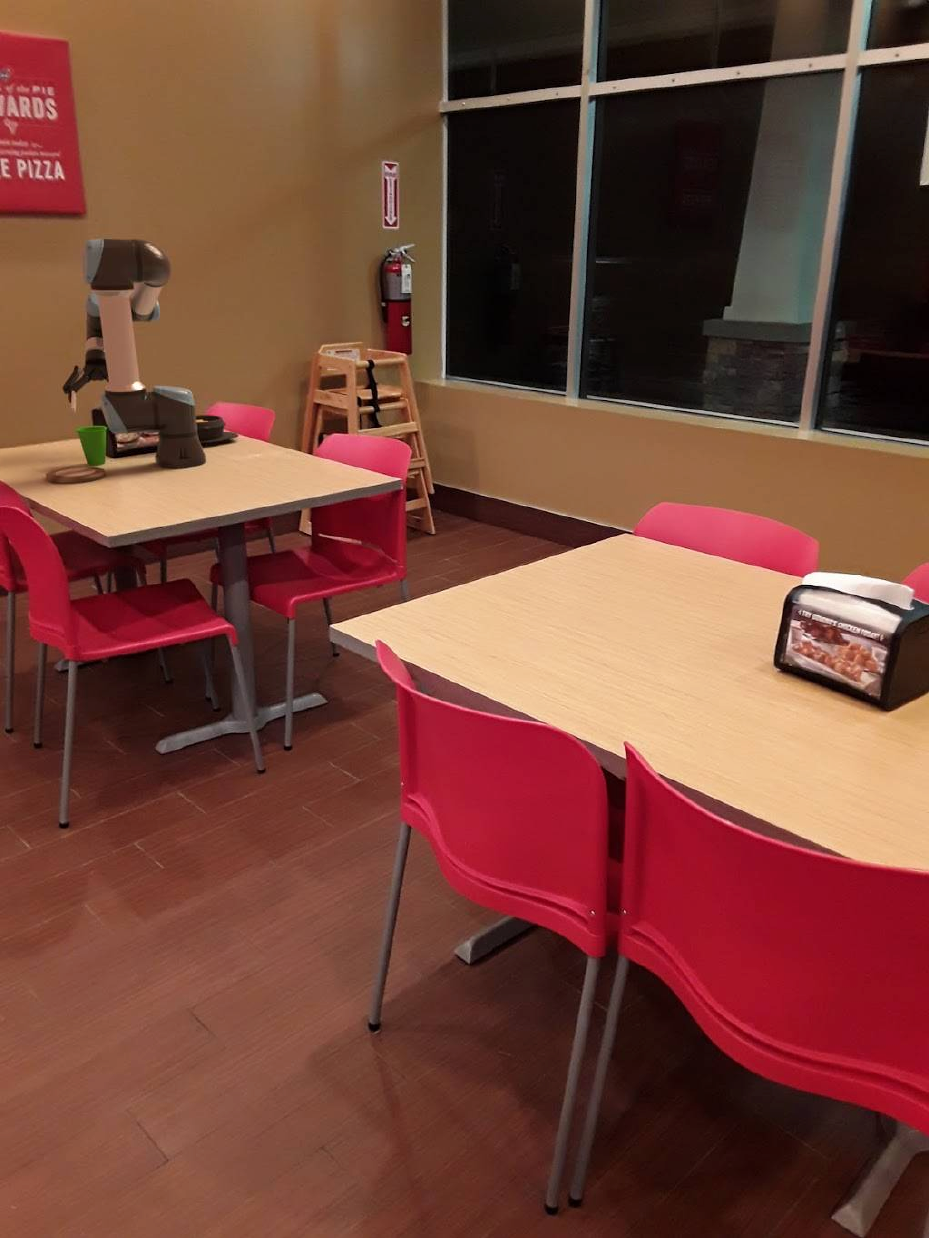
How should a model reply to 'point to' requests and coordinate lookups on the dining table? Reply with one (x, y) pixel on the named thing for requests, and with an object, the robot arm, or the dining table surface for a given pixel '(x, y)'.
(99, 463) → the cup
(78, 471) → the walnut board
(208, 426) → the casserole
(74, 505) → the dining table surface
